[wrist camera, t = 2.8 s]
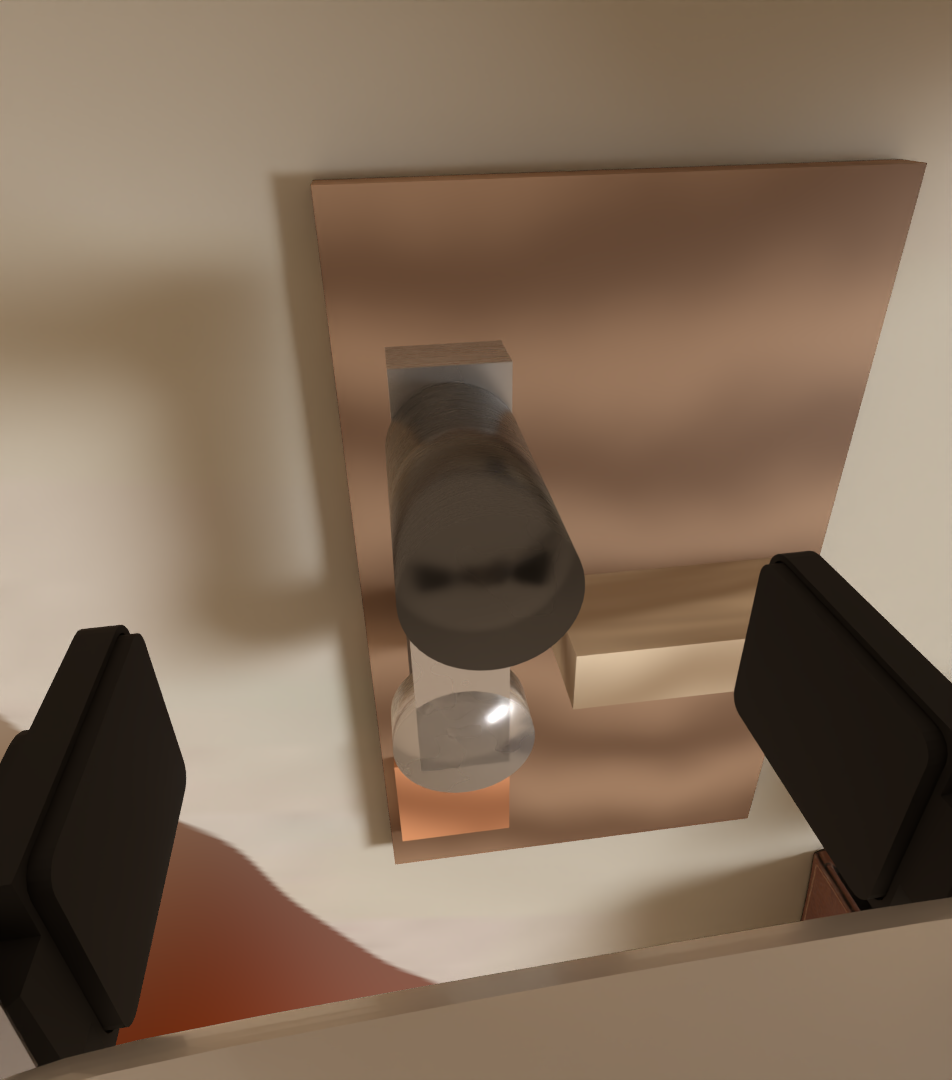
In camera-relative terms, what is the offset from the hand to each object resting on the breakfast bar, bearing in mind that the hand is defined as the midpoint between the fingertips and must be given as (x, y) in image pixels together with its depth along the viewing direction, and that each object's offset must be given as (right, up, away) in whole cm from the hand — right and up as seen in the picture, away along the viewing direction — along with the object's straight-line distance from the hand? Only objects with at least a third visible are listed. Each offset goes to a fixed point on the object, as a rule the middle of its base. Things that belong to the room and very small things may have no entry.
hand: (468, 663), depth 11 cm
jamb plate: (+5, 0, +19) cm, 19 cm away
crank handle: (0, +1, +10) cm, 10 cm away
